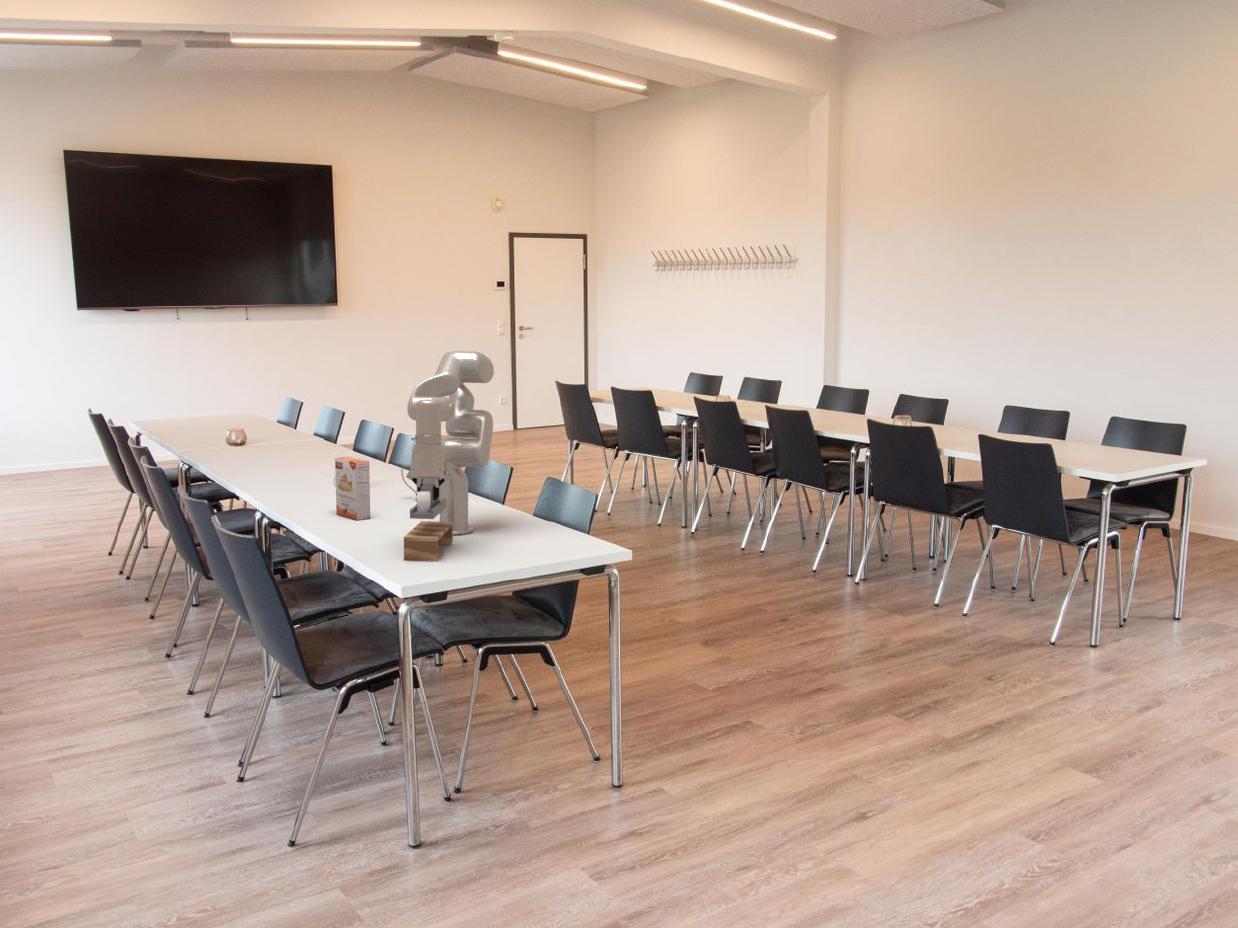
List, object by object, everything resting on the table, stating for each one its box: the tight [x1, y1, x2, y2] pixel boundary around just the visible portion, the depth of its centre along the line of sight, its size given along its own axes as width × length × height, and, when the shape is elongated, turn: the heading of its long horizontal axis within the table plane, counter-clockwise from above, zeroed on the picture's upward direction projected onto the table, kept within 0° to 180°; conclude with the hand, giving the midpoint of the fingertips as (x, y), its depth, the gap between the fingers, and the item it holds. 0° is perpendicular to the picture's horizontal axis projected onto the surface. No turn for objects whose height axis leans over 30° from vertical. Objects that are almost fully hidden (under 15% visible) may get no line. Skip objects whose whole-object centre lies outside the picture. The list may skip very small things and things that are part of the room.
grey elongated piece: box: [409, 483, 447, 520], centre depth 325 cm, size 20×7×8 cm, turn 178°
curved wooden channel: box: [403, 520, 454, 562], centre depth 327 cm, size 24×10×7 cm, turn 178°
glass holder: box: [400, 464, 435, 502], centre depth 412 cm, size 9×14×15 cm, turn 89°
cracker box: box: [334, 456, 371, 521], centre depth 377 cm, size 14×6×21 cm, turn 45°
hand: (428, 498), depth 325 cm, fingers closed on grey elongated piece, 3 cm apart
